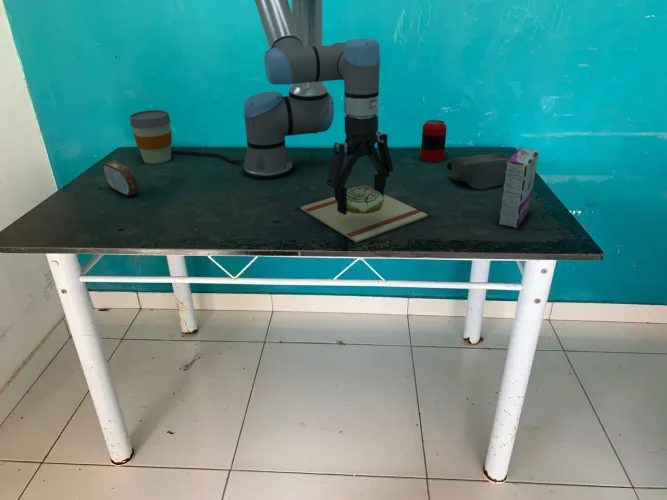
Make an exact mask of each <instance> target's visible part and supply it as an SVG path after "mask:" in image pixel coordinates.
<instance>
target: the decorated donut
mask: <svg viewBox="0 0 667 500" xmlns="http://www.w3.org/2000/svg"><path fill="white" fill-rule="evenodd" d="M383 200H384V198H383V196H382V194H381V193H380V192H378V191H377V190H374V189H370V188H366V187H359V186H353V187H349V188H347V211H348V212H351V213H362V214H364V213H366V214H369V213H373V212H376V211H379V210H380V209H381V207H382V205H383Z"/></svg>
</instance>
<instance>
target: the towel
mask: <svg viewBox="0 0 667 500" xmlns="http://www.w3.org/2000/svg"><path fill="white" fill-rule="evenodd" d="M299 207H300V210H301V211H303V212H304V213H306V214H308V215H309V216H311V217H313V218H314V219H316V220H318V221H320V222H321V223H323V224H325V225H326V226H328V227H330V228H332V229H333V230H334V231H337V232H338V233H340V234H341V235H343V236H345V237H347V238H348V239H349V240H351V241H353V242H355V243H356V244H357V243H359V242H363V241H365V240H368V239H370V238H373V237H376V236H378V235H382V234H383V233H386V232H389V231H392V230H394V229H397V228H400V227H403V226H406V225H408V224H411V223H414V222H416V221H419V220H423V219H424V218H426V217H428V214H427V213H425V212H423V211H421V210H420V209H418V208H415V207H413V206H410V205H408V204H406V203H404V202H402V201H399V200H398V199H396V198H393V197H392V196H389V195H388V194H385V193H384V202H383V205H382V207H381V209H380V210H379V211H376V212H373V213H369V214H366V213H364V214H362V213H351V212H348V211H347V214H346V215H343V214H342V213H340V212H338V211H337V200H335V196H331V197H329V198H325V199H322V200H318V201H316V202H312V203H309V204H305V205H302V206H299Z"/></svg>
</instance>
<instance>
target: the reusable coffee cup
mask: <svg viewBox="0 0 667 500" xmlns="http://www.w3.org/2000/svg"><path fill="white" fill-rule="evenodd" d="M171 121H172V120H171V117H170V114H169V111H167V110H163V109H150V110H149V109H148V110H141V111H136V112H134V113H131V114H130V115H129V122H130V123H129V124H130V127H131V128H132V131H133V133H132V134H133V138H134V141H135V144H136V147H137V148H138V149H139V152H140V154H141V157H142V160H143V162H144V163H145V164H151V165H156V164H161V163H167V162H169V161H170V160H172V152H171V150H172V144H173V138H172V134H173V133H172V129H171Z"/></svg>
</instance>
